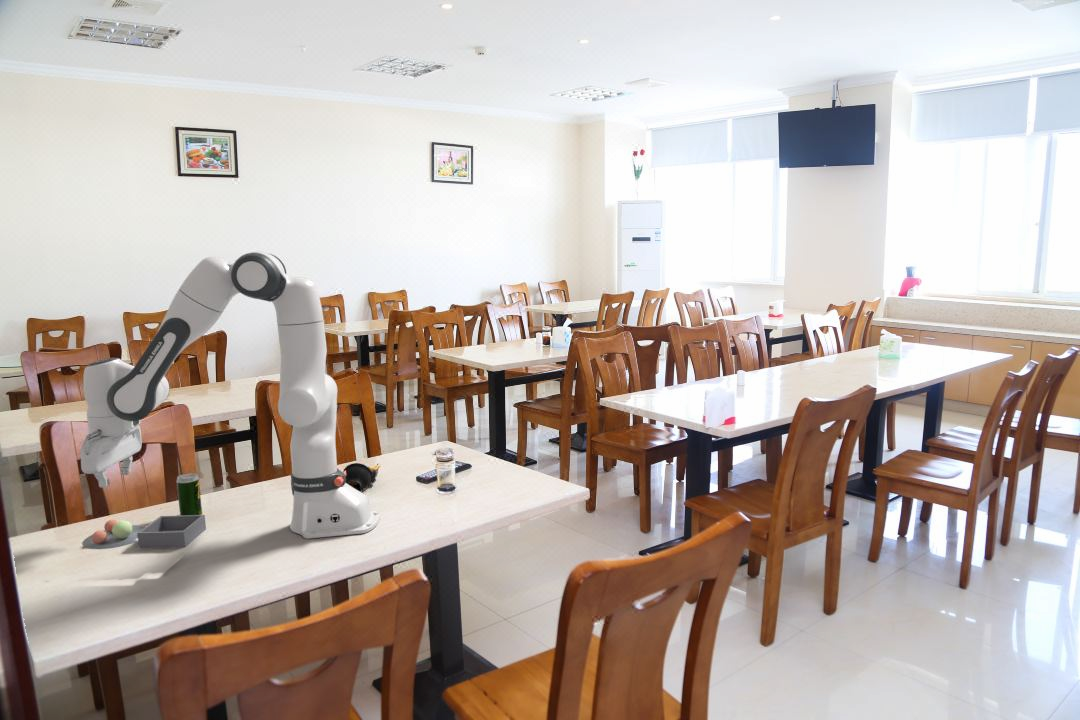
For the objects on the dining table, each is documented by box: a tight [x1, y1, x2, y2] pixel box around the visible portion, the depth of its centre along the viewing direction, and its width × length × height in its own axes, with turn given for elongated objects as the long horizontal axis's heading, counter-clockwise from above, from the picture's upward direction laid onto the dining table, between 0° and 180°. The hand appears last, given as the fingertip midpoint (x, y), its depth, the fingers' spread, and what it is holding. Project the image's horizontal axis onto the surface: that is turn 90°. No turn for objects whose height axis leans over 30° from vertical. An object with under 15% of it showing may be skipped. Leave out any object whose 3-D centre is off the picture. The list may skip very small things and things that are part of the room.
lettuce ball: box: [112, 520, 133, 539], centre depth 187 cm, size 4×4×4 cm
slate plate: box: [82, 524, 147, 550], centre depth 189 cm, size 15×15×1 cm
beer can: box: [176, 473, 203, 516], centre depth 201 cm, size 5×5×12 cm
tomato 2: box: [103, 519, 118, 533], centre depth 191 cm, size 3×3×3 cm
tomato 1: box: [91, 529, 107, 544], centre depth 184 cm, size 3×3×3 cm
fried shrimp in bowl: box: [342, 462, 381, 492], centre depth 226 cm, size 9×11×18 cm
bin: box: [137, 514, 207, 549], centre depth 186 cm, size 11×11×5 cm
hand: (115, 480), depth 185 cm, fingers open, 8 cm apart
